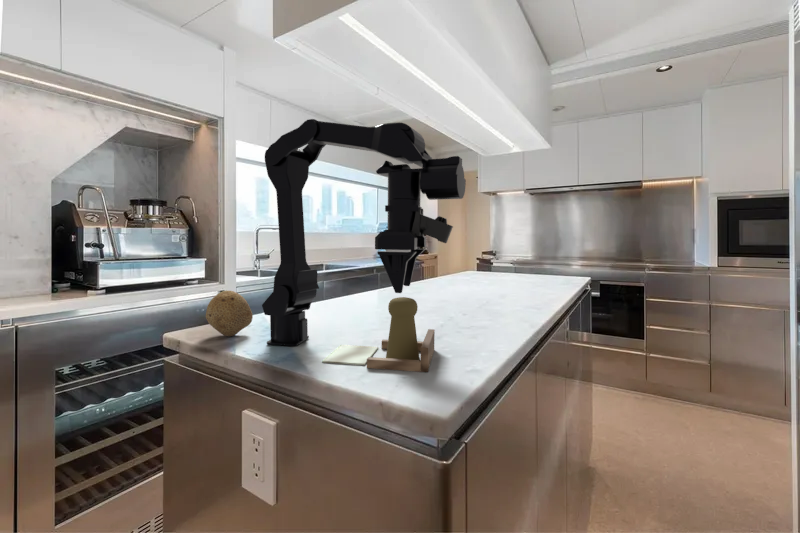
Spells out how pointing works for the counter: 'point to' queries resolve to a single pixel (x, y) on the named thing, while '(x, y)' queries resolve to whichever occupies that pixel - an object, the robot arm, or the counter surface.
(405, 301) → the cork
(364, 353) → the wooden frame with plate
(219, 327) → the natural sponge
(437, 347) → the counter surface
